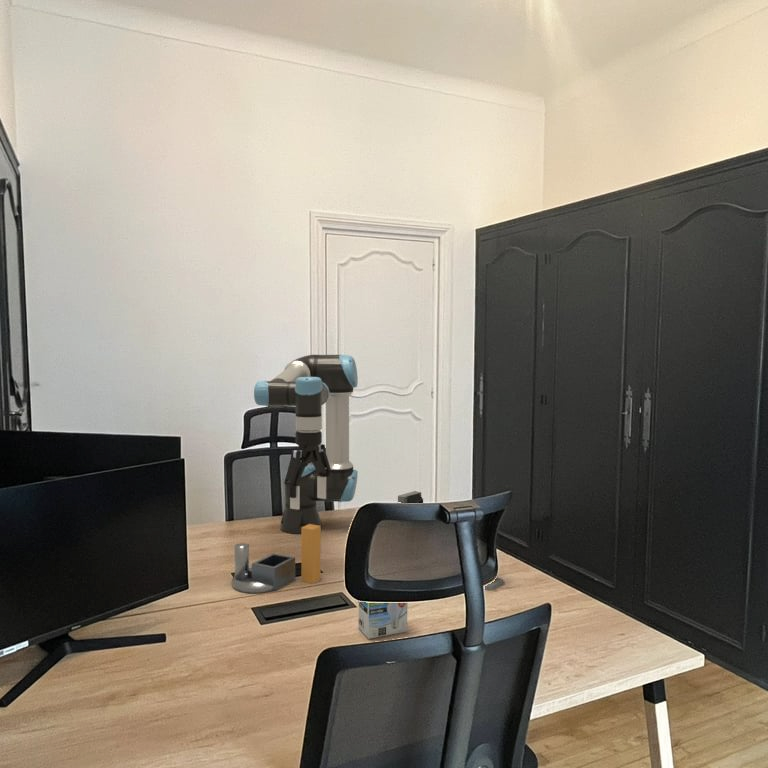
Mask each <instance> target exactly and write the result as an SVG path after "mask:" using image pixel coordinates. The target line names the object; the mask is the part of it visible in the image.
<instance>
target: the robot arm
mask: <svg viewBox="0 0 768 768" xmlns="http://www.w3.org/2000/svg"><path fill="white" fill-rule="evenodd" d="M358 383H359V381H358V370H357V363H356V361H355V358H354V357H353V356H352V355H346V354H308V355H304V356H300V357H298V358H296V359H293V360H292V361H290V362H289V363H287V364H286V366H285V367H284V369H283V370H282V372H280V373H279V374H277V375H276V376H275V377H274V378H272V379H271V380H259V381H257V382H256V383H255V385H254V390H253V399H254V403H255V404H256V405H258V406H266V407H295V430H296V432H295V444H296V445H298V449H296V450H295V449H292V450H291V452H290V460H289V464H288V468H287V470H285V473H284V475H285V477H284V480H283V483H284V504H285V505H284V510H283V513H282V516H281V520H280V530H281V531H282V532H285V533H288V534H300V535H301V527H304V526H306V525H308V524H312V525H318V526H321V527H322V520H321V517H320V513H319V510H318V507H317V502H339V503H342V502H343V503H345V502H346V503H347V502H349V503H350V502H351V501H352V500H353V499H354V498H355V494H356V493H355V492H356V487H357V483H358V474H359V473H358V472H359V471H358V470H356V469H354V464H353V463H352V462H351V461H350V396H351V395H352V394H353V393H354V389H355V388H357V387H358ZM323 405H325V444H323V443H322V442H323V439H322V438H323V433H322V431H321V430H322V429H323V416H322V415H323V414H322V410H323V407H322V406H323ZM311 463H312V464H311Z"/></svg>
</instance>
